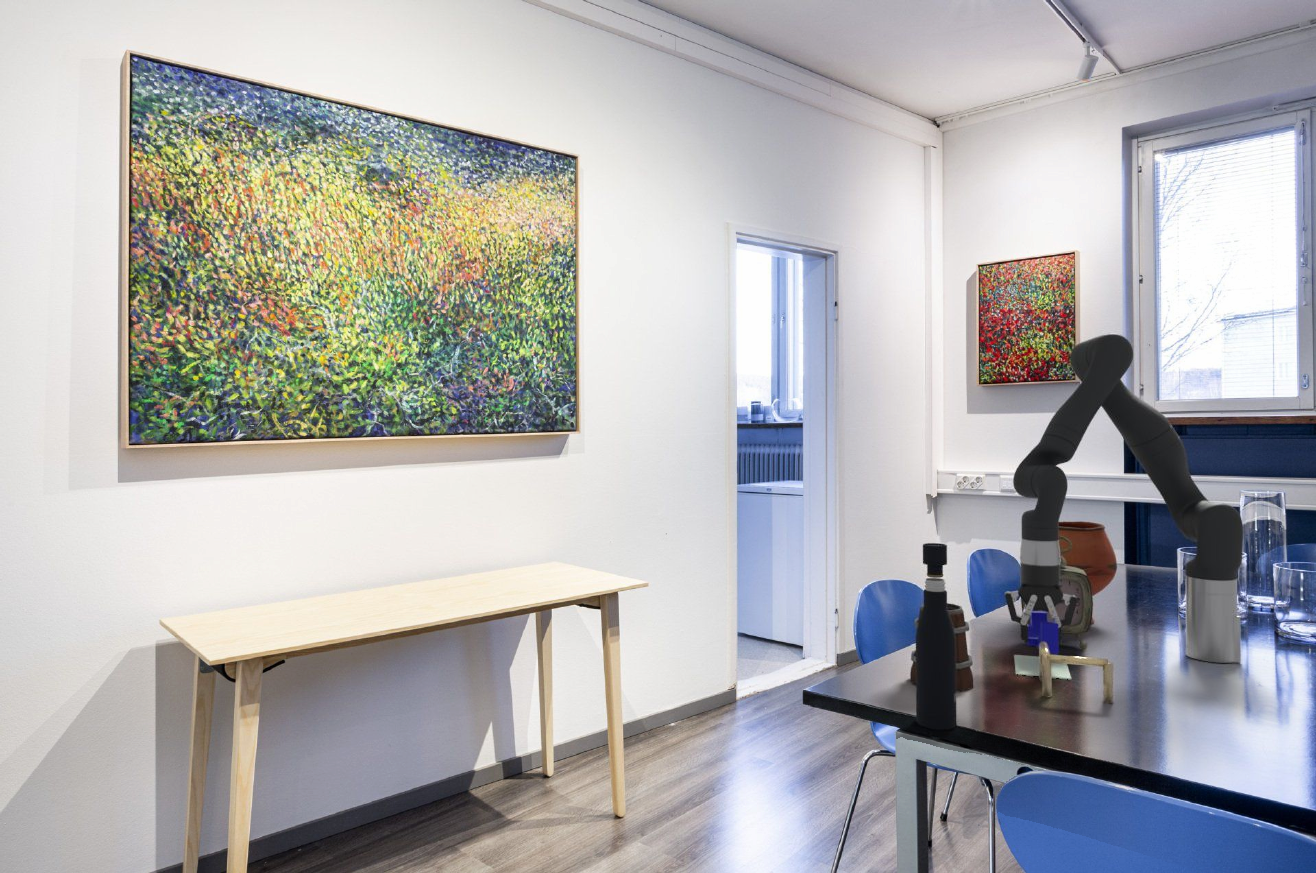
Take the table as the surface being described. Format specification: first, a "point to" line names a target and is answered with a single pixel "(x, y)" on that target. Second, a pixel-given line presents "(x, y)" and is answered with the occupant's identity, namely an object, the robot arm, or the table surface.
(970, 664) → the mug
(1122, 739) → the table surface
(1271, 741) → the table surface
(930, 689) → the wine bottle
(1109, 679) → the wire track
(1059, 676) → the pad
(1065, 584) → the tabletop clock
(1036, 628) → the cable clip
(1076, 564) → the terracotta pot
